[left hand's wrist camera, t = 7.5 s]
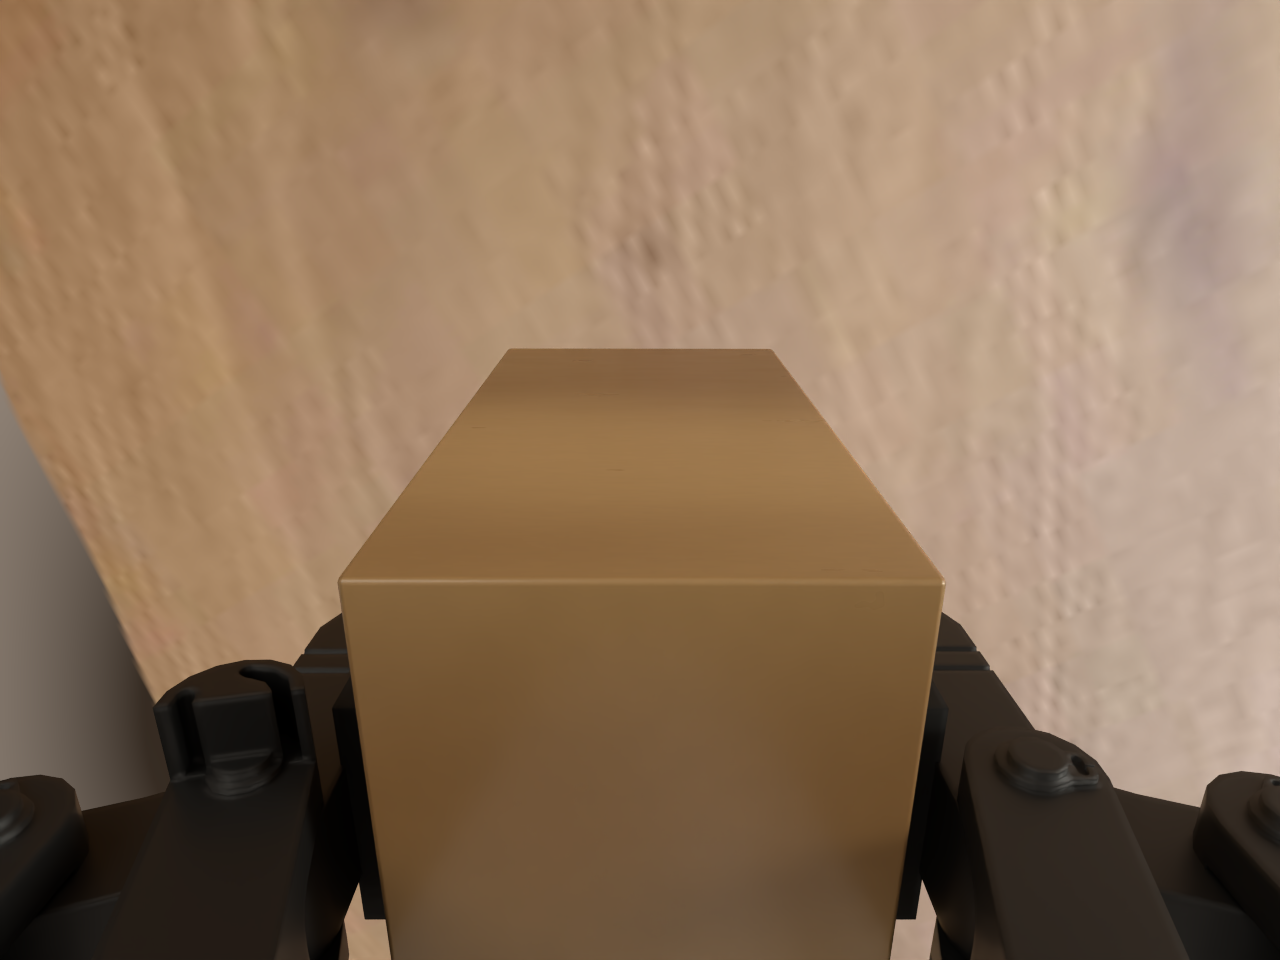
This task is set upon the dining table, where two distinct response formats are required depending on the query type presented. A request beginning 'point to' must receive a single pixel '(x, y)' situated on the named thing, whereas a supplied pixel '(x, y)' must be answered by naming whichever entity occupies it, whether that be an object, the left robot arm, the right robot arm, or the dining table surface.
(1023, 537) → the dining table surface
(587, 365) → the bar
